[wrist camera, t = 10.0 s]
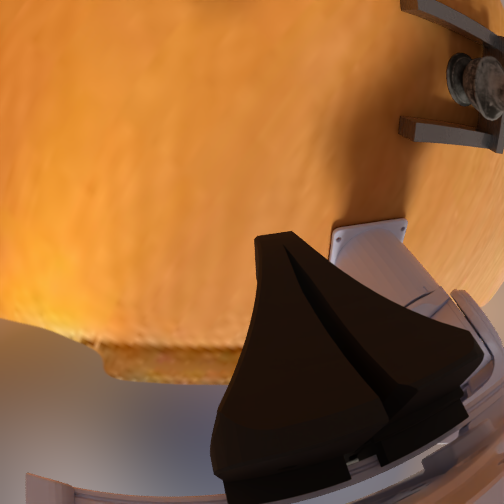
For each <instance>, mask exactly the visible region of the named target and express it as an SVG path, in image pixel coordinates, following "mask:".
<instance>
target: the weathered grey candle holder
mask: <svg viewBox="0 0 504 504" xmlns="http://www.w3.org/2000/svg"><path fill="white" fill-rule="evenodd" d="M447 85H448V89H449V92H450V94H451V96H452V98H453V99H454V100H455V102H456V103H458V104H459V105H461V106H469V105H472V106H473V107H474V108H475V109H476V110H477V111H479V112H480V113H481V114H482V115H483V117H485V118H486V119H487V120H491V121H493V120H496V119H498V118H499V117H500V116H501V115H502V113H503V112H504V69H503V67H502V66H501V64H500V62H499V61H498V60H497V59H496V58H494V57H492V56H485V57H483V58H476V59H473V60H472V59H471V58H470V57H469V56H468V55H466V54H464V53H457V54H455V55H453V56H452V58H451V59H450V61H449V63H448V67H447Z"/></svg>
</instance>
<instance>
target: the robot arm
mask: <svg viewBox="0 0 504 504" xmlns="http://www.w3.org/2000/svg"><path fill="white" fill-rule="evenodd" d="M407 224H408V221H407V220H406V219H405V218H400V219H393V220H386V221H379V222H373V223H366V224H359V225H352V226H346V227H339V228H336V229H335V230H334V231H333V233H332V241H331V249H330V257H329V261H328V260H327V259H326V258H325V257H323V256H322V255H321V254H320V253H318V252H317V251H316V250H314V249H313V248H312V247H311V246H310V245H308V244H307V243H306V242H305V241H303V240H302V239H301V238H300V237H299V236H297V235H296V234H295V233H294V232H292V231H288V232H281V233H275V234H268V235H261V236H257V237H256V238H255V239H254V244H255V262H256V279H257V290H256V297H255V303H254V308H253V313H252V317H251V322H250V325H249V329H248V333H247V336H246V340H245V343H244V346H243V349H242V352H241V355H240V357H239V360H238V363H237V366H236V368H235V371H234V374H233V376H232V378H231V381H230V383H229V385H228V388H227V390H226V392H225V394H224V396H223V398H222V400H221V403H220V405H219V407H218V410H217V416H216V420H215V424H214V428H213V433H212V438H211V445H210V457H211V462H212V467H213V472H214V475H216V476H217V477H219V478H220V479H222V480H223V483H224V488H225V493H226V494H218V495H206V496H187V497H154V496H134V495H122V494H114V493H106V492H99V491H92V490H86V489H81V488H76V487H72V486H71V485H68V484H65V483H62V482H59V481H55V480H51V479H48V478H44V477H41V476H37V475H34V474H30V473H26V504H291V503H295V502H299V501H303V500H307V499H311V498H314V497H318V496H321V495H324V494H327V493H331V492H334V491H337V490H340V489H343V488H346V487H348V486H351V485H354V484H356V483H359V482H361V481H364V480H366V479H369V478H371V477H374V476H376V475H378V474H380V473H383V472H385V471H387V470H389V469H391V468H393V467H396V466H398V465H400V464H402V463H403V462H405V461H407V460H409V459H411V458H413V457H415V456H417V455H419V454H421V453H422V452H424V451H426V450H427V449H429V448H431V447H432V446H434V445H436V444H447V445H445V446H443V447H442V448H440V449H438V450H437V451H435V452H433V453H432V454H430V455H429V456H427V457H426V458H424V459H423V460H422V464H423V467H424V469H423V470H422V471H420V472H418V473H416V474H414V475H412V476H410V477H408V478H406V479H404V480H402V481H400V482H398V483H396V484H394V485H391V486H389V487H387V488H385V489H382V490H380V491H378V492H375V493H373V494H370V495H368V496H366V497H363V498H360V499H358V500H355V501H352V502H350V503H347V504H504V347H503V346H502V341H501V339H500V337H499V336H498V333H497V332H496V331H495V329H494V327H493V325H492V324H491V323H490V321H489V319H488V318H487V316H486V315H485V314H484V312H483V311H482V310H481V308H480V307H479V306H478V304H477V303H476V302H475V301H474V300H473V298H472V297H471V296H470V295H469V294H468V293H467V292H466V291H465V290H457V289H454V290H453V291H452V292H451V293H450V295H451V296H452V298H453V299H454V300H455V302H456V303H457V306H458V307H459V308H460V310H461V311H462V312H463V314H464V315H465V316H464V315H463V314H462V312H461V311H460V310H459V308H458V307H457V306H456V305H455V303H454V302H453V301H452V299H451V298H450V297H449V296H448V294H447V293H446V292H445V291H444V289H443V288H442V287H441V286H439V285H438V284H437V283H436V281H435V280H434V279H433V278H432V277H431V275H430V274H429V273H428V272H427V271H426V269H425V268H424V267H423V266H422V265H421V264H420V262H419V261H418V260H417V259H416V258H415V257H414V256H413V254H412V253H411V252H410V251H409V250H408V249H407V248H406V247H405V245H404V244H403V239H404V235H405V232H406V228H407ZM338 237H339V239H337V238H338ZM336 239H337V240H336ZM480 338H481V339H480ZM481 340H482V341H483V342H482V341H481ZM483 343H484V344H483Z"/></svg>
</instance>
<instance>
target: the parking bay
mask: <svg viewBox="0 0 504 504" xmlns="http://www.w3.org/2000/svg"><path fill="white" fill-rule="evenodd" d="M400 2H401V11H404V12H407V13H410V14H413V15H416V16H418V17H421V18H424V19H426V20H429V21H431V22H434V23H436V24H439V25H441V26H443V27H446V28H448V29H450V30H452V31H454V32H457V33H459V34H461V35H463V36H465V37H467V38H469V39H471V40H473V41H474V42H476V43H478V44H480V45H482V46H483V57H485V56H492V57H494V58H496V59H497V60H498V61H499V62H500V64H501V66H502V67H503V69H504V37H502V36H497V35H496V34H494V33H493V32H491V31H490V30H488V29H487V28H485V27H484V26H482V25H480V24H479V23H477V22H475V21H474V20H472V19H470V18H469V17H467V16H465V15H463V14H461V13H460V12H458V11H456V10H454V9H452V8H450V7H448V6H446V5H444V4H442V3H440V2H438V1H436V0H400ZM399 134H400V135H402V136H404V137H406V138H408V139H410V140H412V141H414V142H430V143H443V144H454V145H463V146H472V147H480V148H487V149H490V150H492V151H494V152H495V153H500V154H503V149H504V112H503V113H502V115H501V116H500V117H499V118H498V119H496V120H493V121H491V120H487V119H486V118H485V117H483V115H482V114H481V113H480V112H479V118H478V126H477V128H476V127H471V126H466V125H461V124H455V123H449V122H443V121H437V120H430V119H422V118H414V117H405V116H400V124H399Z"/></svg>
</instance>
